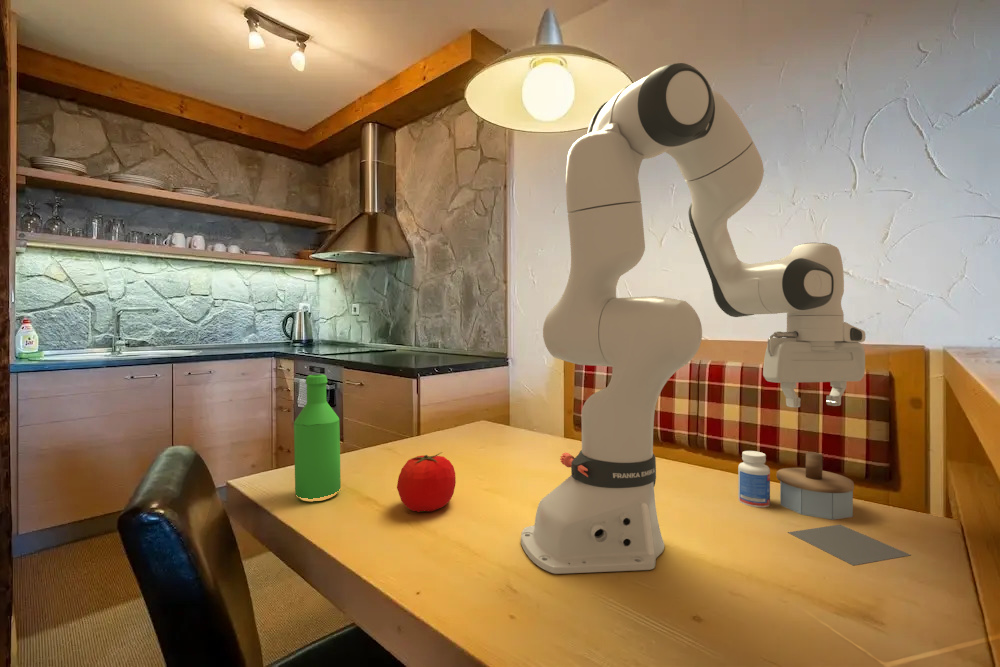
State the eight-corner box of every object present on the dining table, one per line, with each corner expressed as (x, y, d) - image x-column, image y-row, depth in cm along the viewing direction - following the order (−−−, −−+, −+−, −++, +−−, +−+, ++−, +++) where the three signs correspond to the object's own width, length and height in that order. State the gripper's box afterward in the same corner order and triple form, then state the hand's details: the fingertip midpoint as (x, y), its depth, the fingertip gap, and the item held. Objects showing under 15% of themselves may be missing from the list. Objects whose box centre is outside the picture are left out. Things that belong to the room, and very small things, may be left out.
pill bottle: (774, 510, 87) (774, 458, 87) (743, 508, 88) (743, 456, 88) (764, 499, 93) (764, 450, 93) (734, 497, 94) (734, 449, 94)
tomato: (470, 502, 93) (469, 450, 93) (426, 525, 82) (425, 467, 82) (427, 491, 99) (426, 442, 99) (381, 511, 88) (380, 457, 88)
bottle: (341, 500, 94) (339, 376, 94) (294, 506, 91) (292, 378, 91) (339, 486, 103) (337, 372, 102) (296, 492, 99) (294, 374, 99)
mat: (853, 568, 67) (853, 565, 67) (787, 534, 77) (787, 532, 77) (911, 557, 69) (911, 554, 69) (840, 526, 80) (840, 524, 80)
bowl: (817, 523, 81) (817, 495, 81) (766, 500, 92) (766, 475, 92) (866, 516, 84) (866, 488, 84) (811, 495, 95) (811, 470, 95)
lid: (817, 496, 81) (817, 466, 81) (762, 474, 92) (762, 448, 92) (871, 489, 84) (871, 460, 84) (811, 469, 95) (811, 443, 95)
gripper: (783, 331, 82) (782, 410, 82) (872, 332, 87) (872, 407, 87) (754, 331, 88) (754, 405, 88) (840, 332, 93) (839, 402, 93)
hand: (813, 406), depth 88 cm, fingers open, 8 cm apart
